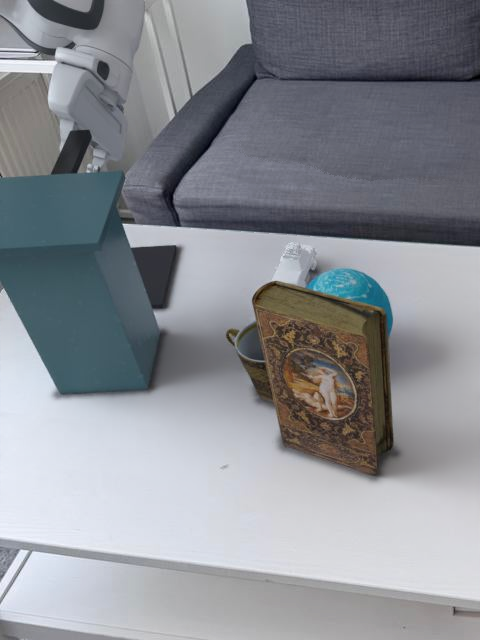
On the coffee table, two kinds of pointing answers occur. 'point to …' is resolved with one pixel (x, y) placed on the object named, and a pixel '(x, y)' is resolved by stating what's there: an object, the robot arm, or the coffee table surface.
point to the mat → (155, 270)
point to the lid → (59, 205)
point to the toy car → (296, 264)
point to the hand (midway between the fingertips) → (79, 166)
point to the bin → (86, 314)
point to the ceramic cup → (252, 358)
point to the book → (327, 373)
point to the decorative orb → (353, 289)
